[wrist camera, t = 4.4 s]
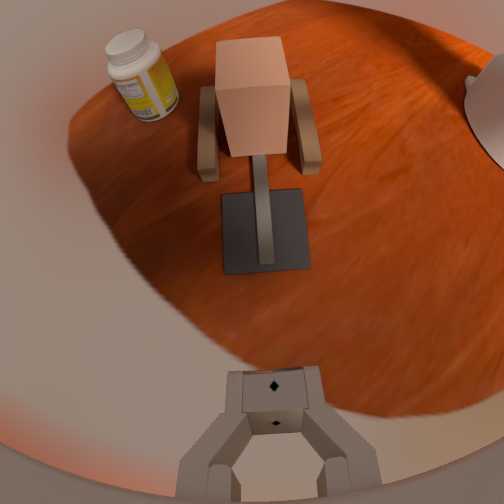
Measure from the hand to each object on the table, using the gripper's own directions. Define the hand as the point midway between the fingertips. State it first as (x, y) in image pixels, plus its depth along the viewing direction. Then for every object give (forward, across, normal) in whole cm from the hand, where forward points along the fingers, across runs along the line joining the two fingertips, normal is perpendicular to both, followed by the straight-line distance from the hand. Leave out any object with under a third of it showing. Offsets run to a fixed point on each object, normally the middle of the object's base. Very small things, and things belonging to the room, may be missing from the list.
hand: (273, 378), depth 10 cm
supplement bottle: (+28, +11, -8) cm, 31 cm away
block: (+24, 0, -4) cm, 24 cm away
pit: (+17, 0, +3) cm, 17 cm away
